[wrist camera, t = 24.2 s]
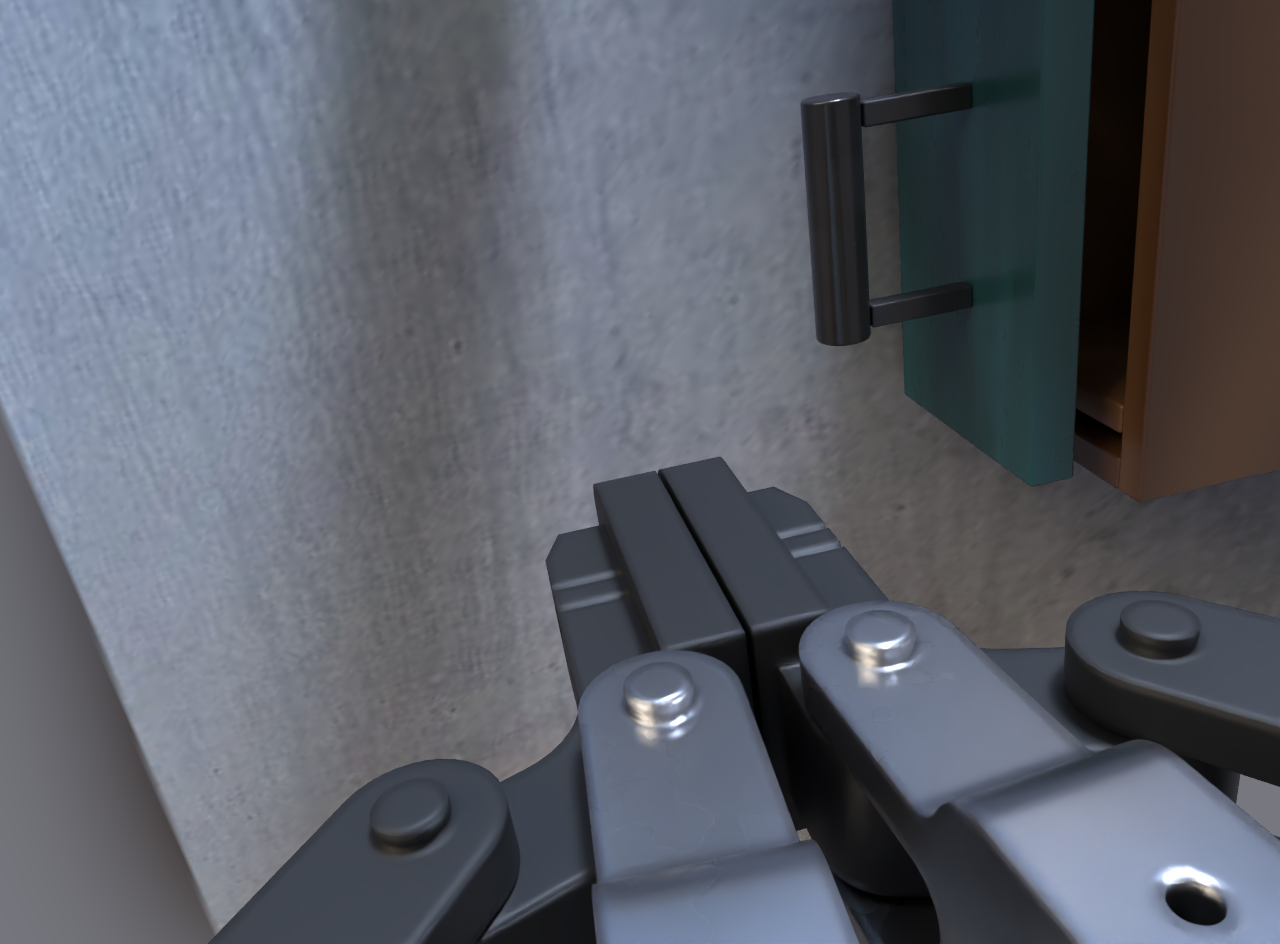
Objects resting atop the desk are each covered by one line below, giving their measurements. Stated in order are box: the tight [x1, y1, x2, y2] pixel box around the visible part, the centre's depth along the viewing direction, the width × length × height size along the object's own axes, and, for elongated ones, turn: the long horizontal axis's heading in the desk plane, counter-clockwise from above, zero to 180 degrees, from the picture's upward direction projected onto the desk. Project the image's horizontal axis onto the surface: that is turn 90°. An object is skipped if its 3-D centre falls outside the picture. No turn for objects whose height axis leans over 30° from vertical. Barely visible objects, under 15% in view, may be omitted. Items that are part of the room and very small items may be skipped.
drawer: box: [800, 0, 1152, 487], centre depth 27 cm, size 20×14×7 cm
